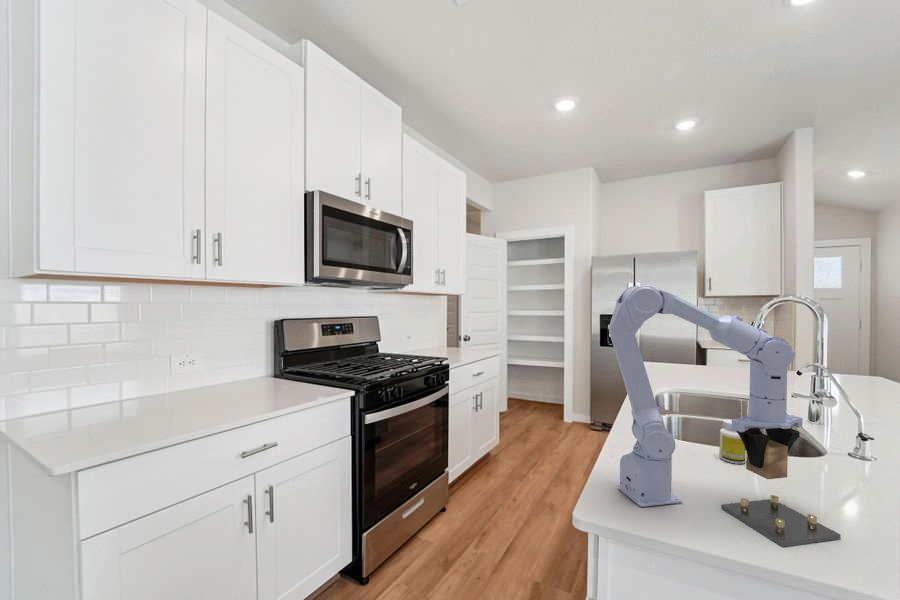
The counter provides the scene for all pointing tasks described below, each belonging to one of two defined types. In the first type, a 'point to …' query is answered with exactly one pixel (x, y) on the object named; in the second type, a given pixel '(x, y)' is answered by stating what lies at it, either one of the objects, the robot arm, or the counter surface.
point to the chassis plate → (780, 522)
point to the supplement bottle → (731, 445)
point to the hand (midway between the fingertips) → (766, 464)
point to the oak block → (772, 461)
